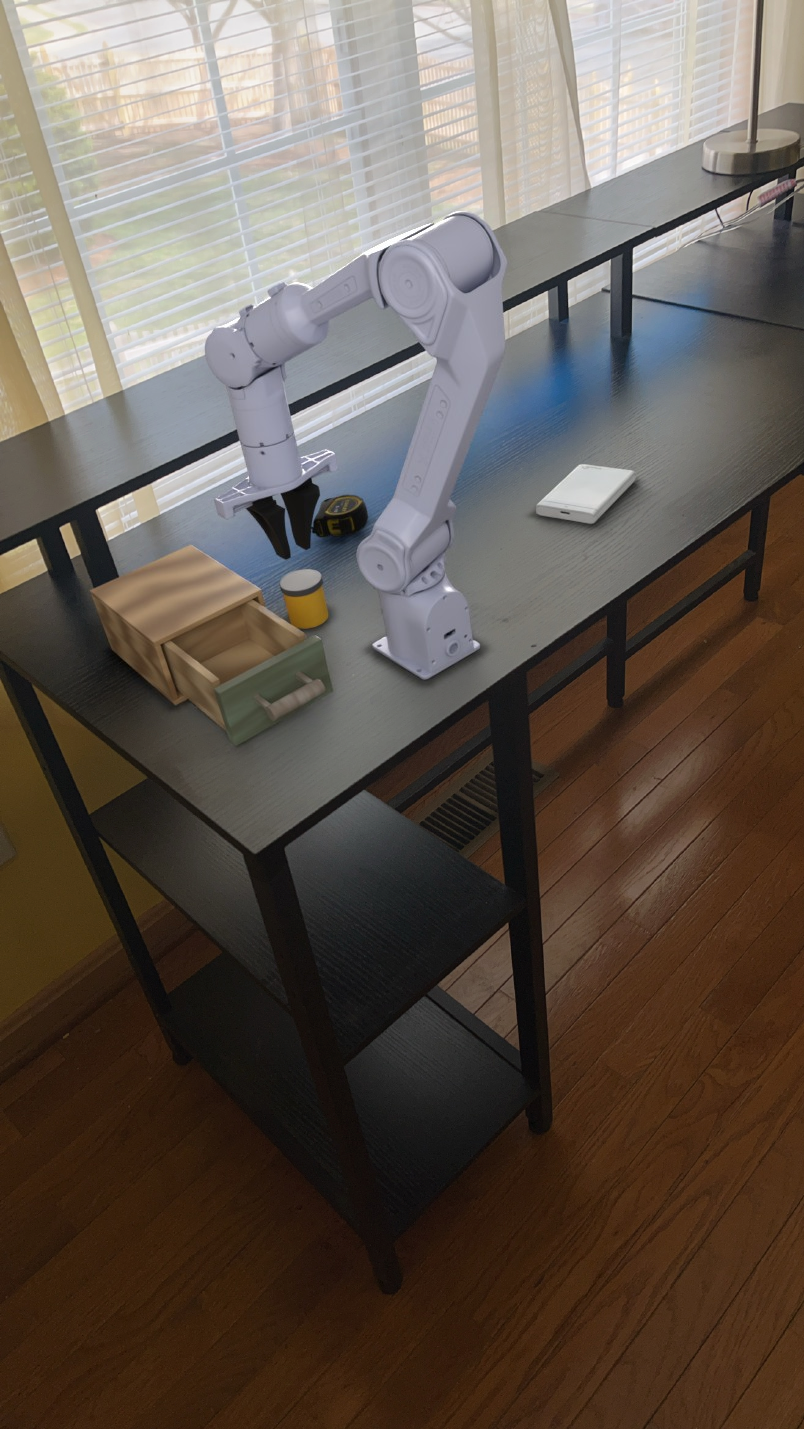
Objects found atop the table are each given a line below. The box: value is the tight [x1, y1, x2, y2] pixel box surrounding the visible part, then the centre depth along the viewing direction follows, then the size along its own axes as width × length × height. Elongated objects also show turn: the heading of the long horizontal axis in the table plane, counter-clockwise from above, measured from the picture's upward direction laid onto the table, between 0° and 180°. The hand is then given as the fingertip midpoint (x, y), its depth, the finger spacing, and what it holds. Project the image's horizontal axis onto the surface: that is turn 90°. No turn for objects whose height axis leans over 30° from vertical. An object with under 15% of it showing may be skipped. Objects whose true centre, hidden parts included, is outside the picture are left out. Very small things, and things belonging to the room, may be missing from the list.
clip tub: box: [279, 568, 329, 630], centre depth 119 cm, size 5×5×5 cm
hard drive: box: [535, 463, 636, 525], centre depth 134 cm, size 2×8×12 cm
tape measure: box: [311, 494, 369, 538], centre depth 136 cm, size 7×7×4 cm
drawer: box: [160, 599, 334, 747], centre depth 106 cm, size 20×12×7 cm, turn 39°
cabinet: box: [89, 544, 267, 706], centre depth 116 cm, size 16×13×8 cm
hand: (293, 551), depth 116 cm, fingers closed
